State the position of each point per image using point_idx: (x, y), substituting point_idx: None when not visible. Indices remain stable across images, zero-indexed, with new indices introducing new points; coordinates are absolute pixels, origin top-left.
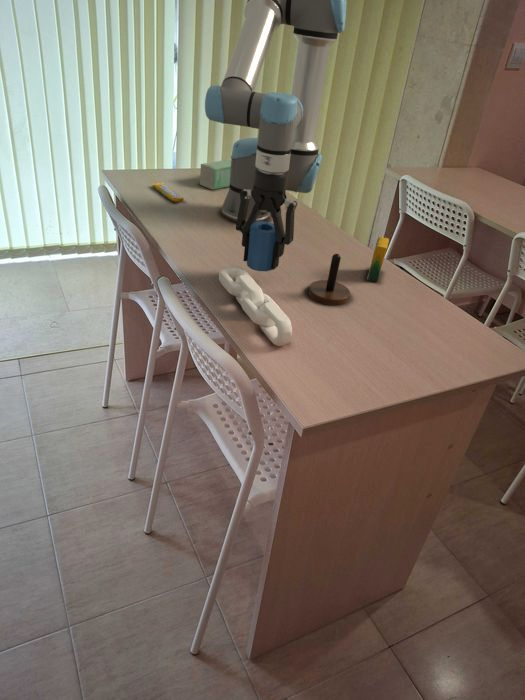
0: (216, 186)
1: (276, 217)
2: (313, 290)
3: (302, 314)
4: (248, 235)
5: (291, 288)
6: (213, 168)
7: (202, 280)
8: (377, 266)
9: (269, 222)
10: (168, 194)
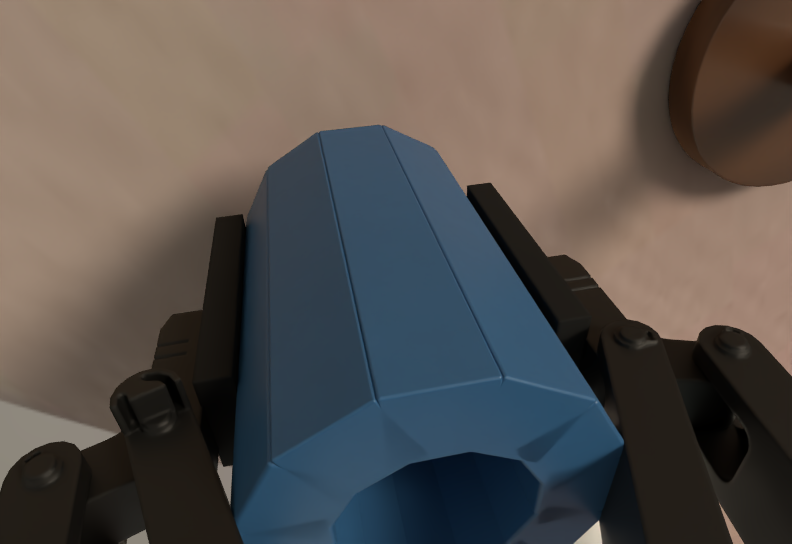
0: None
1: None
2: (716, 149)
3: (659, 313)
4: (231, 440)
5: (562, 137)
6: None
7: (114, 388)
8: None
9: (420, 393)
10: None
